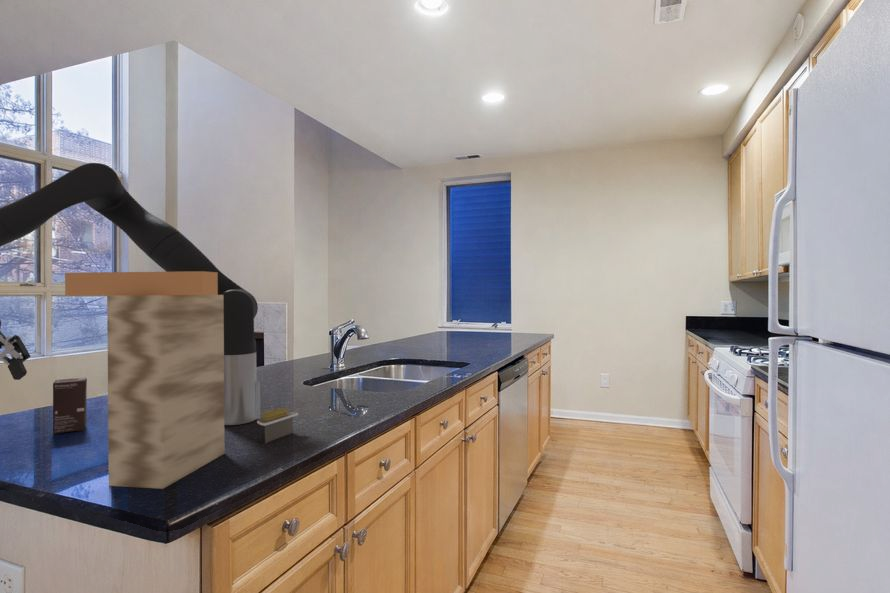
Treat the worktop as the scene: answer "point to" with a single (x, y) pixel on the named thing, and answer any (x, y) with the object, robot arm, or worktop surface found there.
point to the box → (69, 405)
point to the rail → (141, 283)
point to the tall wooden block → (164, 387)
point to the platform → (277, 423)
